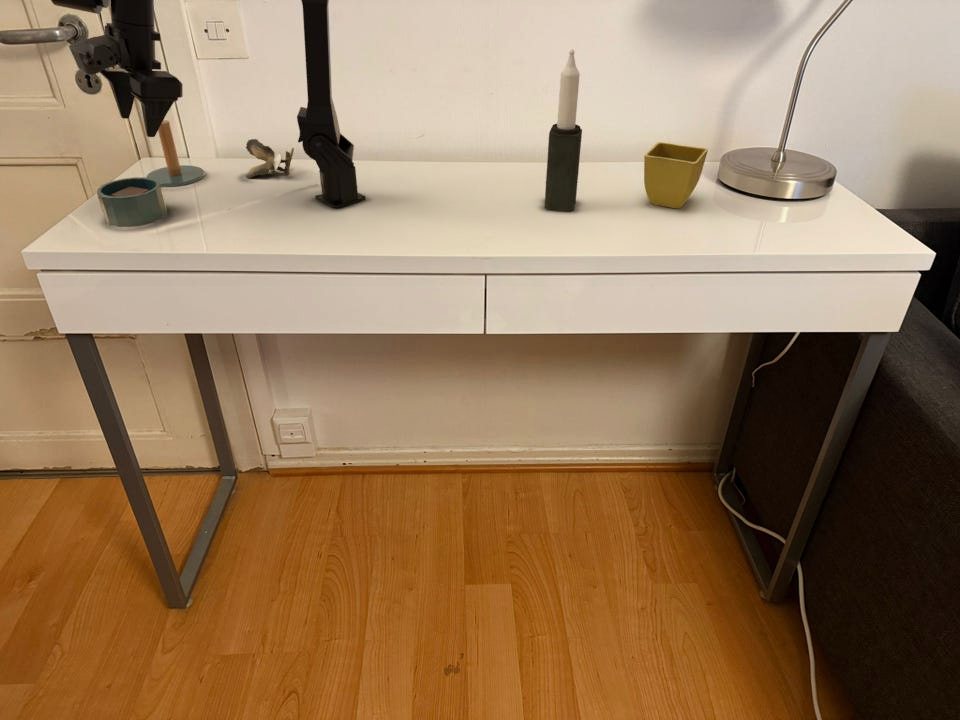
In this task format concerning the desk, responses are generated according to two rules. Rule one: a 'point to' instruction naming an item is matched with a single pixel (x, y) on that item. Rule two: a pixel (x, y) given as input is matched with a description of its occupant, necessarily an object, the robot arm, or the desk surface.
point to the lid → (173, 163)
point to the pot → (132, 202)
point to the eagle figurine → (266, 159)
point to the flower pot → (672, 173)
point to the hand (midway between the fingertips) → (137, 127)
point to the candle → (564, 145)
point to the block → (129, 191)
